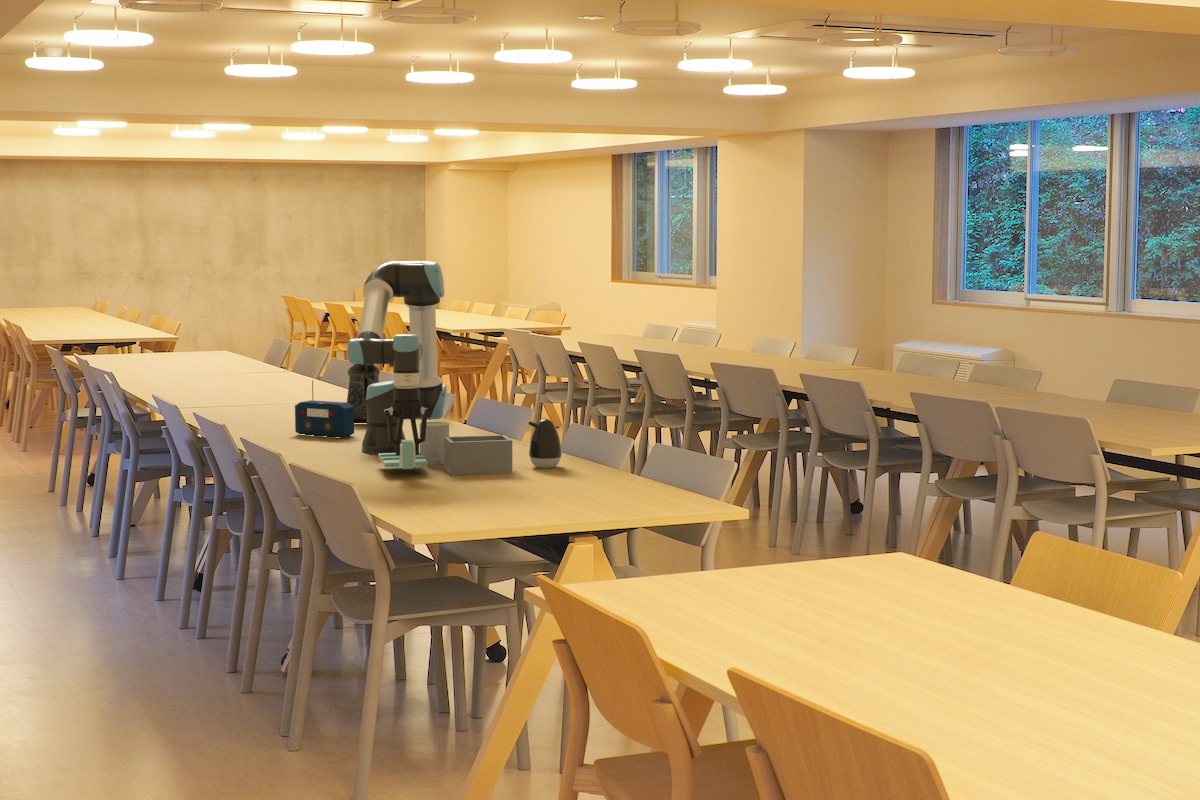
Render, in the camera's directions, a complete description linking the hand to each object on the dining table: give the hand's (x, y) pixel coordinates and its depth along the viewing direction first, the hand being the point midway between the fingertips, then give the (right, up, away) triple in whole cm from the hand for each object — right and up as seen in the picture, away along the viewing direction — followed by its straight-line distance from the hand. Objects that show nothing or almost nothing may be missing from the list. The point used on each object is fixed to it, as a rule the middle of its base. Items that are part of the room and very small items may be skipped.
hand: (407, 465), depth 379 cm
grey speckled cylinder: (+4, 0, +31) cm, 31 cm away
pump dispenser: (+40, -2, +22) cm, 45 cm away
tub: (+20, -2, +14) cm, 24 cm away
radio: (-43, +6, +86) cm, 97 cm away
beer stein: (-34, +11, +123) cm, 129 cm away
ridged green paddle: (-3, +1, +10) cm, 10 cm away
